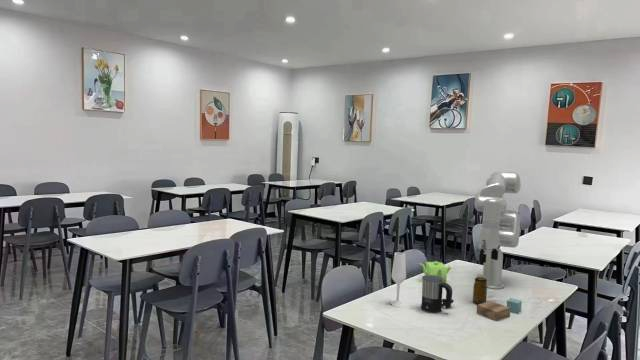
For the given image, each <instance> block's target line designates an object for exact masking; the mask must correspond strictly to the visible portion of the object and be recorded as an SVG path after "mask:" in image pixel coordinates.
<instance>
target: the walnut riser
mask: <svg viewBox="0 0 640 360" xmlns="http://www.w3.org/2000/svg"><path fill="white" fill-rule="evenodd" d="M476 314H477V315H479V316H482V317H484V318H487V319H489V320H493V321H496V322H498V321H502V320H504V319H507V318H510V317H511V312H510V308H509V307H507V305H503V304H501V303H497V302H494V301H492V300H490V301H489V300H488V301H486V302H485V303H482V304H478V305H476Z"/></svg>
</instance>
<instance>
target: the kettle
mask: <svg viewBox="0 0 640 360" xmlns="http://www.w3.org/2000/svg"><path fill="white" fill-rule="evenodd" d="M419 265H420V266H421V267H422V271H423V274H424V275H435V276H439V277H442V278H443V280H442V282H444V283H447V278H448V276H447V275H448V273H449V272H450V271H451V269H452V267H451V266H448V267H447V266H446V265H445V264H444V263H443V262H439V261H425V264H424V263H419Z"/></svg>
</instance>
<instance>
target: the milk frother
mask: <svg viewBox="0 0 640 360" xmlns="http://www.w3.org/2000/svg"><path fill="white" fill-rule="evenodd" d="M421 279H422V284H421V285H422V288H421V291H422V292H421V304H420V305H421V306H420V309H421V310H422V312H423V311H424V312H427V313H431V314H432V313H434V314H435V313H440V312H441V311H442V308H444V307H445V309H450V308H451V307H452V306H451V305H452V304H453V303H454V302H455V301H454V299H452V298H453V288H452V286H451V285H450V284H449V283H448V282H446V283H444V282H442V280H443V278H442V277H439V276H435V275H425V274H424V275H422V277H421ZM443 289H445V291H446V294H445V298H443Z"/></svg>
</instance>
